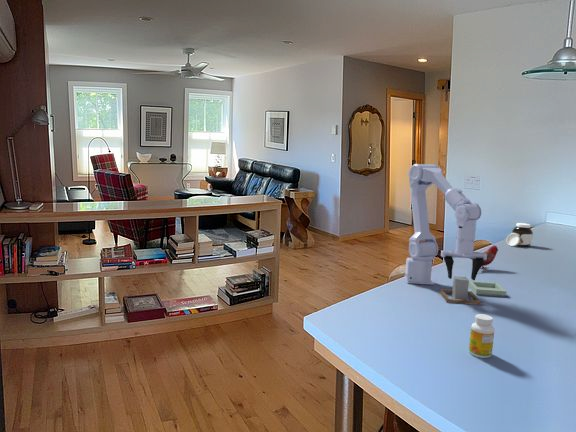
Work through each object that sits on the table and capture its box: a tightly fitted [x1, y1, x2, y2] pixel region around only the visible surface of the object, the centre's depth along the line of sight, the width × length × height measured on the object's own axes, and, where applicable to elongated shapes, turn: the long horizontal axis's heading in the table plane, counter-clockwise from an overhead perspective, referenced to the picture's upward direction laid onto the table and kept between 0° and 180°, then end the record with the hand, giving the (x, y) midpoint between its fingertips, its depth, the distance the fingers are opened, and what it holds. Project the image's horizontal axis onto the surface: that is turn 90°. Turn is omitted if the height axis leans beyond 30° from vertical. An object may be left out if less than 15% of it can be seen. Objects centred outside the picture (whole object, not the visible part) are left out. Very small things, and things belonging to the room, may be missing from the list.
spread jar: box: [505, 222, 534, 248], centre depth 251 cm, size 12×11×12 cm
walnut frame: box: [438, 288, 482, 305], centre depth 161 cm, size 11×11×1 cm
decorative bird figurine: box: [469, 245, 499, 270], centre depth 199 cm, size 3×18×10 cm, turn 112°
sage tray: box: [468, 280, 507, 298], centre depth 170 cm, size 10×10×2 cm
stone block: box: [451, 276, 470, 300], centre depth 161 cm, size 4×4×7 cm
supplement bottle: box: [468, 313, 495, 359], centre depth 118 cm, size 5×5×10 cm
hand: (461, 278), depth 160 cm, fingers open, 7 cm apart
